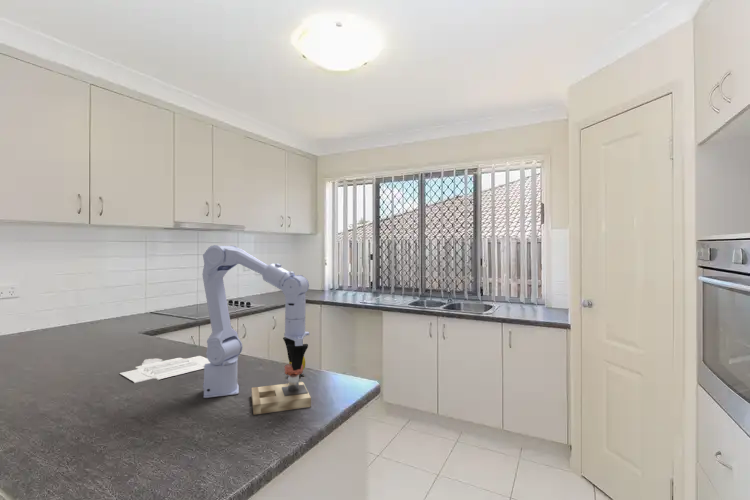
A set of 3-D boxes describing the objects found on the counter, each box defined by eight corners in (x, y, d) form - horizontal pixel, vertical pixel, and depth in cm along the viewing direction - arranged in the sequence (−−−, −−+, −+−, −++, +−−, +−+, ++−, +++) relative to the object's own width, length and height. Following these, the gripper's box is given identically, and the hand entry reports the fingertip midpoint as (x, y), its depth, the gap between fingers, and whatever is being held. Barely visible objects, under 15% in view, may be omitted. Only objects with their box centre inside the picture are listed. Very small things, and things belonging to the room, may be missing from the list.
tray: (222, 366, 138) (222, 356, 138) (138, 391, 116) (138, 379, 116) (195, 356, 151) (195, 347, 151) (115, 376, 129) (114, 366, 129)
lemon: (301, 378, 124) (301, 354, 124) (286, 376, 126) (286, 353, 126) (307, 372, 130) (308, 350, 130) (293, 371, 131) (293, 349, 131)
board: (253, 414, 96) (253, 403, 96) (251, 396, 109) (251, 386, 109) (310, 406, 102) (311, 396, 102) (302, 389, 114) (302, 380, 114)
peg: (303, 392, 105) (304, 366, 105) (285, 394, 103) (285, 368, 103) (301, 385, 110) (301, 361, 110) (283, 387, 108) (283, 363, 108)
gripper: (314, 321, 101) (313, 371, 101) (304, 313, 115) (304, 357, 115) (287, 323, 99) (287, 374, 99) (281, 314, 112) (281, 359, 112)
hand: (294, 365), depth 107 cm, fingers open, 7 cm apart
